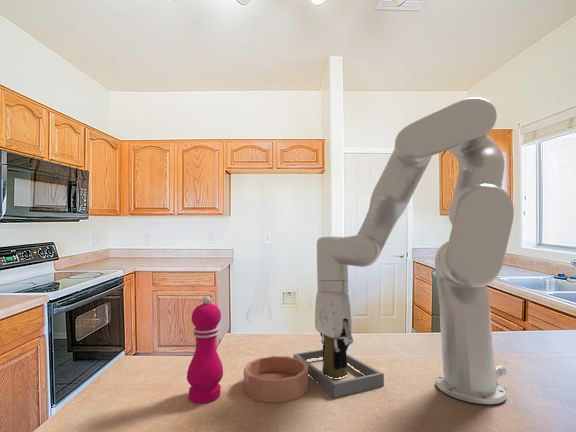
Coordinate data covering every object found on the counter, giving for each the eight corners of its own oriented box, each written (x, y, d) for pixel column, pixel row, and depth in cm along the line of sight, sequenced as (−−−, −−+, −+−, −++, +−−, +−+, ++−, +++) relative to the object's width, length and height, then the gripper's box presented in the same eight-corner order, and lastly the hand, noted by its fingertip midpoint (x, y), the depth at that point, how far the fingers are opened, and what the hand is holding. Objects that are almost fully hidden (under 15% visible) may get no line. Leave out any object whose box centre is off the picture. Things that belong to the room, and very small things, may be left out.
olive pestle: (347, 380, 68) (346, 330, 69) (320, 378, 69) (320, 329, 71) (347, 369, 74) (346, 323, 75) (323, 368, 75) (322, 322, 76)
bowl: (291, 369, 75) (291, 352, 75) (319, 393, 62) (319, 373, 63) (237, 379, 69) (237, 361, 70) (256, 408, 57) (256, 385, 57)
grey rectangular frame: (334, 356, 83) (334, 347, 83) (384, 385, 65) (383, 373, 66) (293, 364, 78) (293, 354, 78) (334, 397, 60) (334, 384, 61)
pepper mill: (185, 391, 63) (188, 294, 66) (220, 385, 66) (221, 292, 68) (186, 408, 57) (189, 300, 59) (225, 401, 59) (226, 297, 61)
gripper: (303, 284, 80) (304, 355, 78) (338, 292, 65) (341, 381, 63) (327, 282, 83) (329, 351, 81) (367, 290, 68) (370, 375, 66)
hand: (334, 363), depth 72 cm, fingers closed on olive pestle, 4 cm apart
